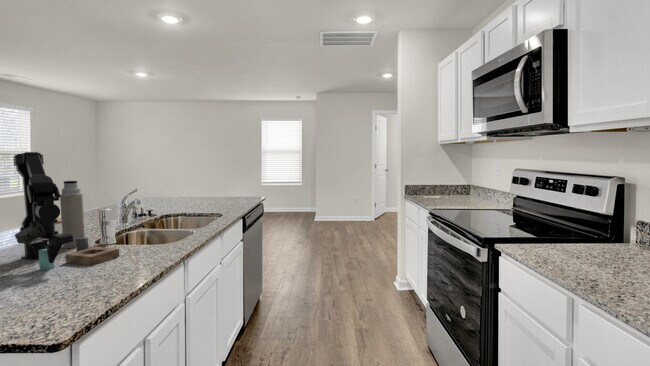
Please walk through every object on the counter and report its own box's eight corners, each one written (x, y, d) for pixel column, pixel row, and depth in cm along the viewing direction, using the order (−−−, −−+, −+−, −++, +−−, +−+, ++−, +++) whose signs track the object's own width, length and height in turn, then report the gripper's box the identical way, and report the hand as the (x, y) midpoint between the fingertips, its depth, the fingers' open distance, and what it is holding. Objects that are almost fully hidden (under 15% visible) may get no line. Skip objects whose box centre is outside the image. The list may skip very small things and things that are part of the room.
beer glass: (103, 245, 163) (101, 211, 162) (96, 243, 167) (94, 209, 166) (120, 242, 169) (118, 209, 168) (112, 240, 173) (111, 207, 172)
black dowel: (74, 254, 149) (73, 239, 149) (83, 251, 153) (82, 237, 152) (82, 255, 148) (81, 239, 148) (91, 252, 152) (90, 237, 151)
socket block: (66, 262, 137) (65, 254, 137) (94, 254, 149) (94, 246, 149) (92, 265, 134) (91, 256, 134) (119, 256, 145) (119, 248, 145)
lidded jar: (34, 238, 179) (33, 218, 179) (54, 233, 190) (53, 214, 189) (54, 238, 177) (53, 219, 177) (73, 234, 188) (71, 215, 187)
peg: (36, 269, 129) (35, 250, 129) (48, 266, 133) (47, 248, 133) (45, 270, 128) (44, 251, 128) (57, 267, 132) (55, 248, 131)
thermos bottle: (79, 242, 169) (76, 180, 167) (88, 245, 164) (85, 180, 162) (59, 246, 162) (55, 181, 160) (68, 248, 158) (64, 181, 156)
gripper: (-2, 220, 124) (1, 267, 125) (40, 222, 119) (43, 271, 120) (32, 215, 135) (35, 258, 136) (73, 217, 130) (75, 262, 131)
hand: (46, 262), depth 130 cm, fingers closed on peg, 4 cm apart
